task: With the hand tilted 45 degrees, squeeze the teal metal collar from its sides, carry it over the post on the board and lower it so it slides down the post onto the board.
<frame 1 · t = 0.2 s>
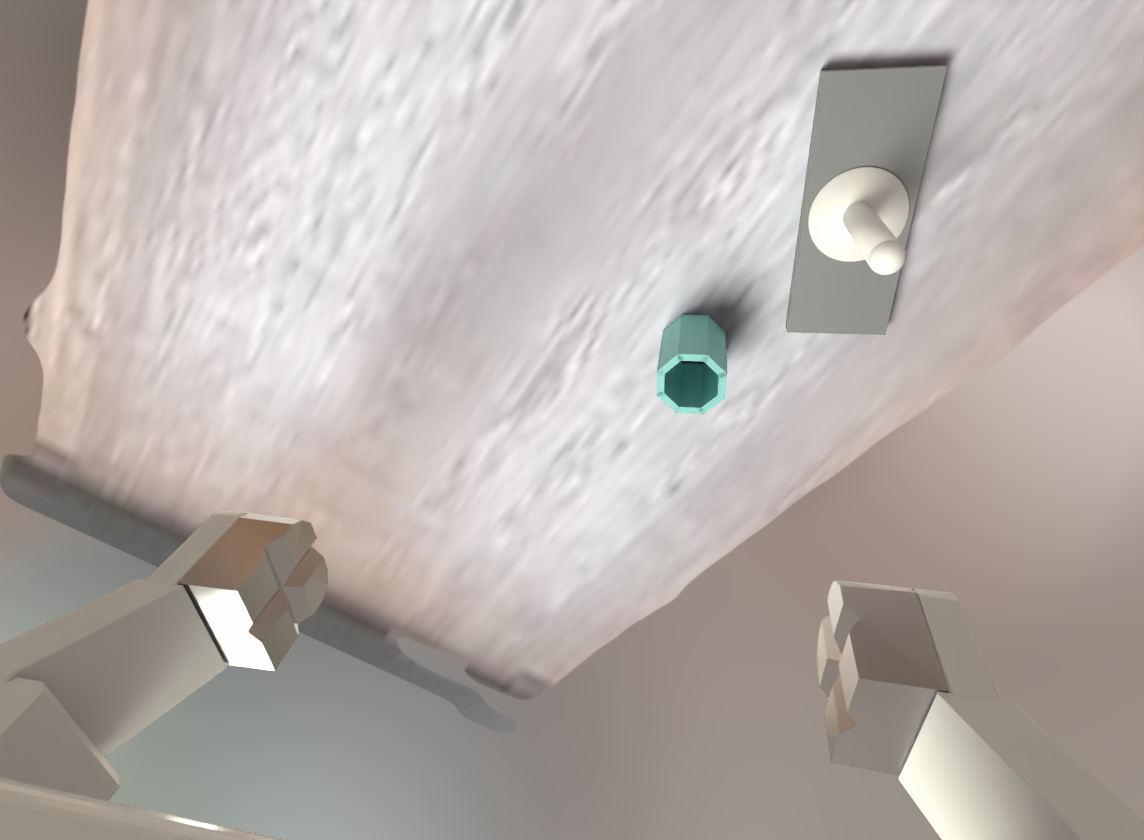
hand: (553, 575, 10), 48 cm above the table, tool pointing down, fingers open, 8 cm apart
post stand: (853, 210, 50), on the table
collar: (693, 342, 59), on the table
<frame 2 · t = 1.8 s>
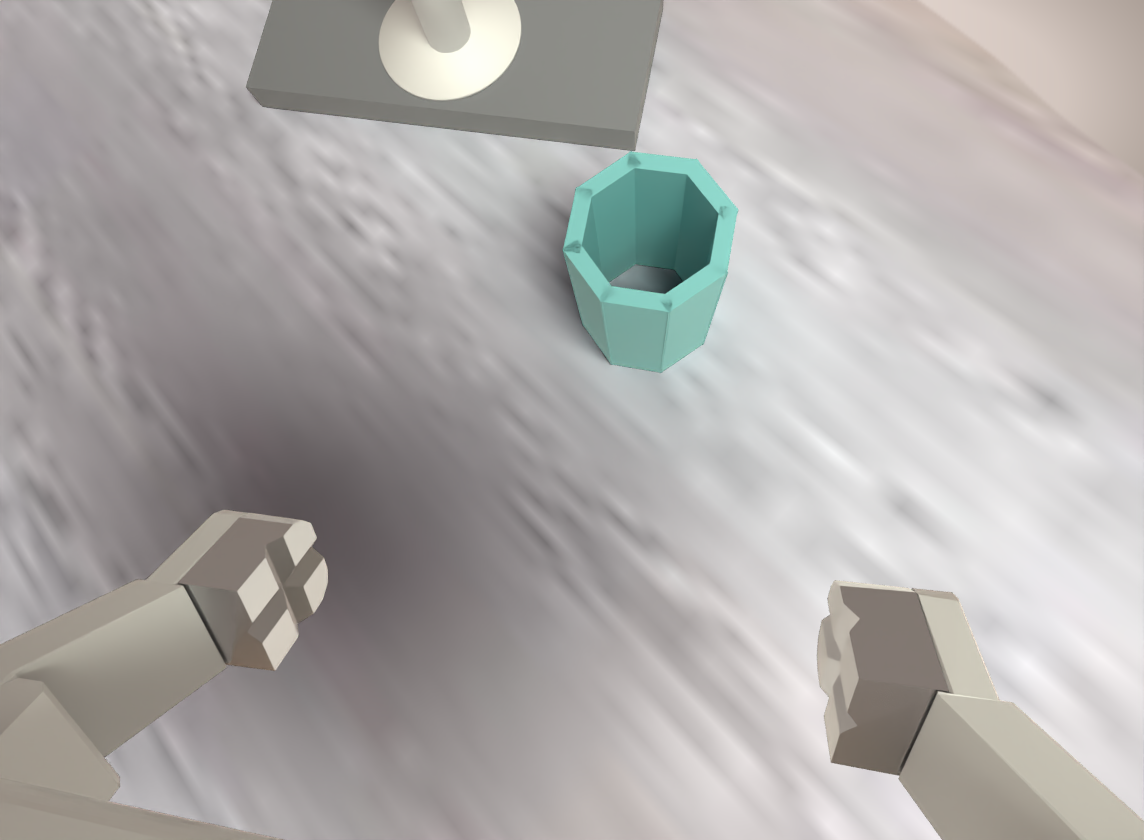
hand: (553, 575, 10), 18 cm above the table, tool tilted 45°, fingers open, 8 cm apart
post stand: (458, 58, 33), on the table
collar: (646, 310, 29), on the table
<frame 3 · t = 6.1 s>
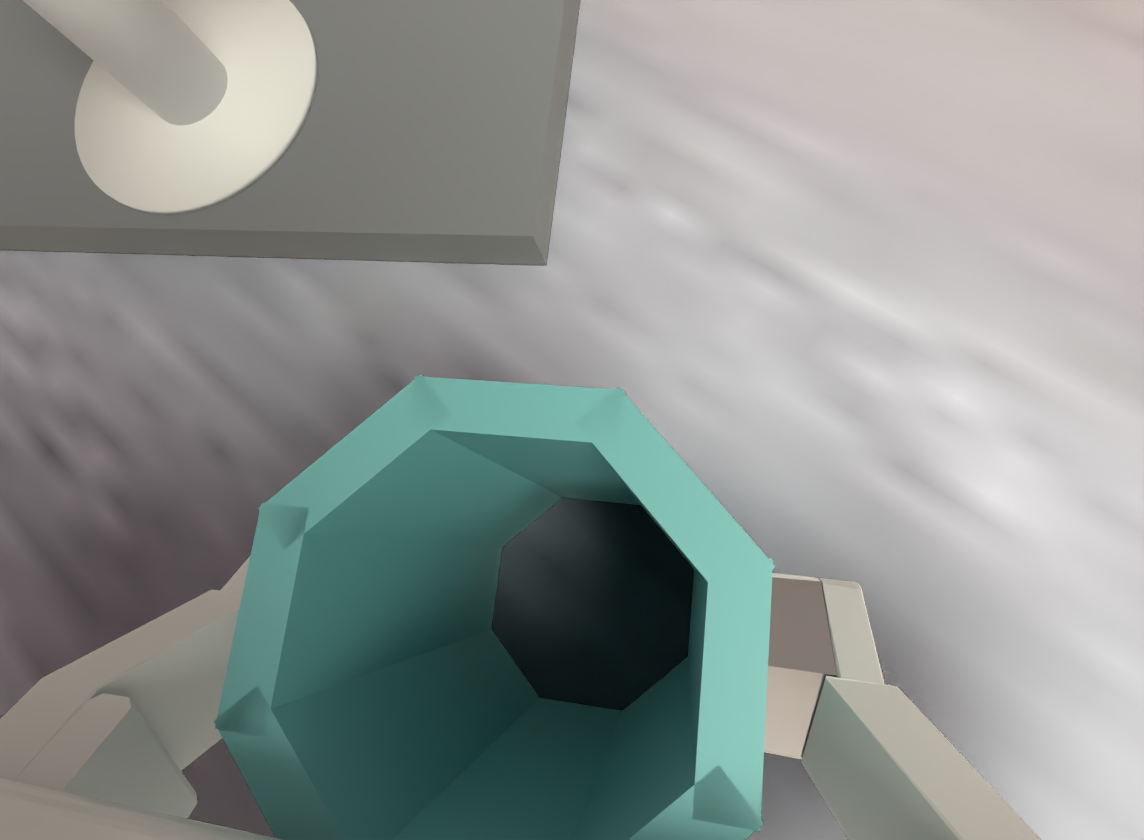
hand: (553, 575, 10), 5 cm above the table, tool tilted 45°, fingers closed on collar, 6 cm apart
post stand: (233, 130, 19), on the table
collar: (591, 599, 14), on the table, touching gripper
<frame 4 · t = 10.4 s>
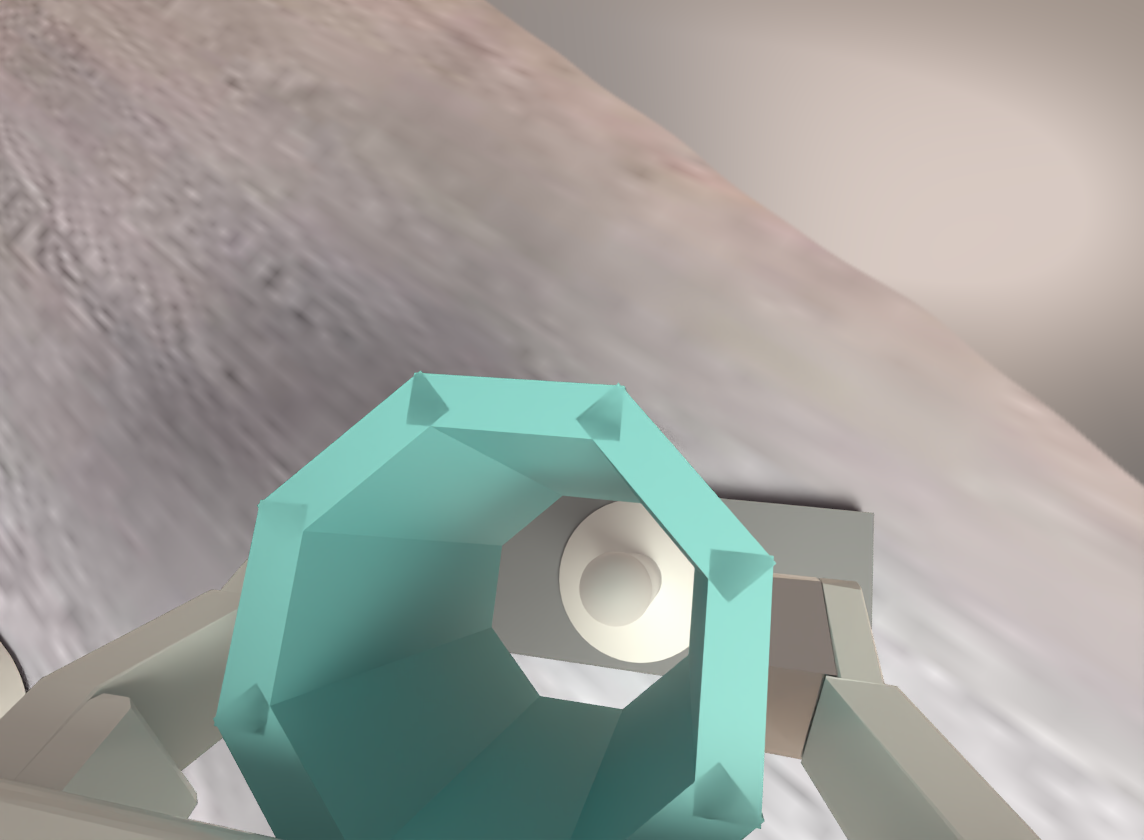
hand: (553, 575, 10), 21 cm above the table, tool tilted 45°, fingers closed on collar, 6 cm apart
post stand: (639, 577, 30), on the table
collar: (591, 597, 14), point 17 cm above the table, touching gripper
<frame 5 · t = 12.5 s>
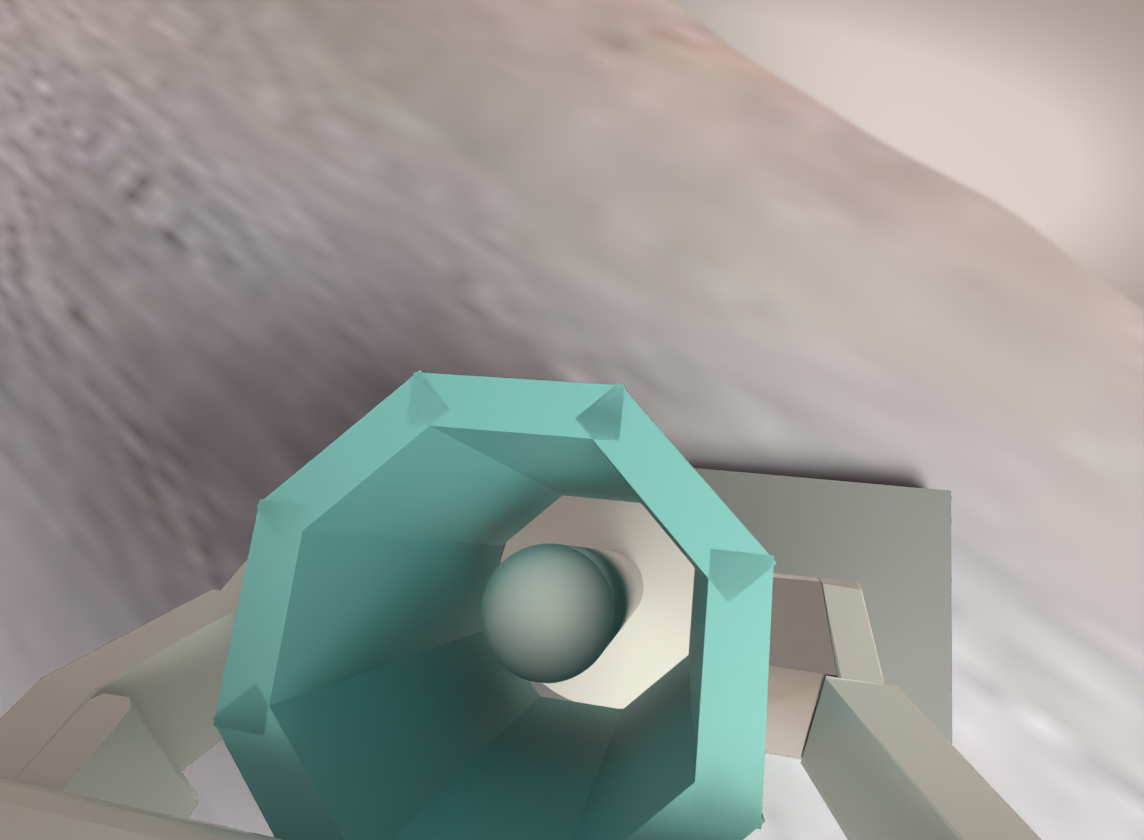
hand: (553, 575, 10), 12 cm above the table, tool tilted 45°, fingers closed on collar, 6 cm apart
post stand: (613, 583, 22), on the table
collar: (591, 597, 14), point 8 cm above the table, touching gripper
when the fingers open (8 cm above the table, at t = 14.5 s): collar drops 2 cm, resting on post stand.
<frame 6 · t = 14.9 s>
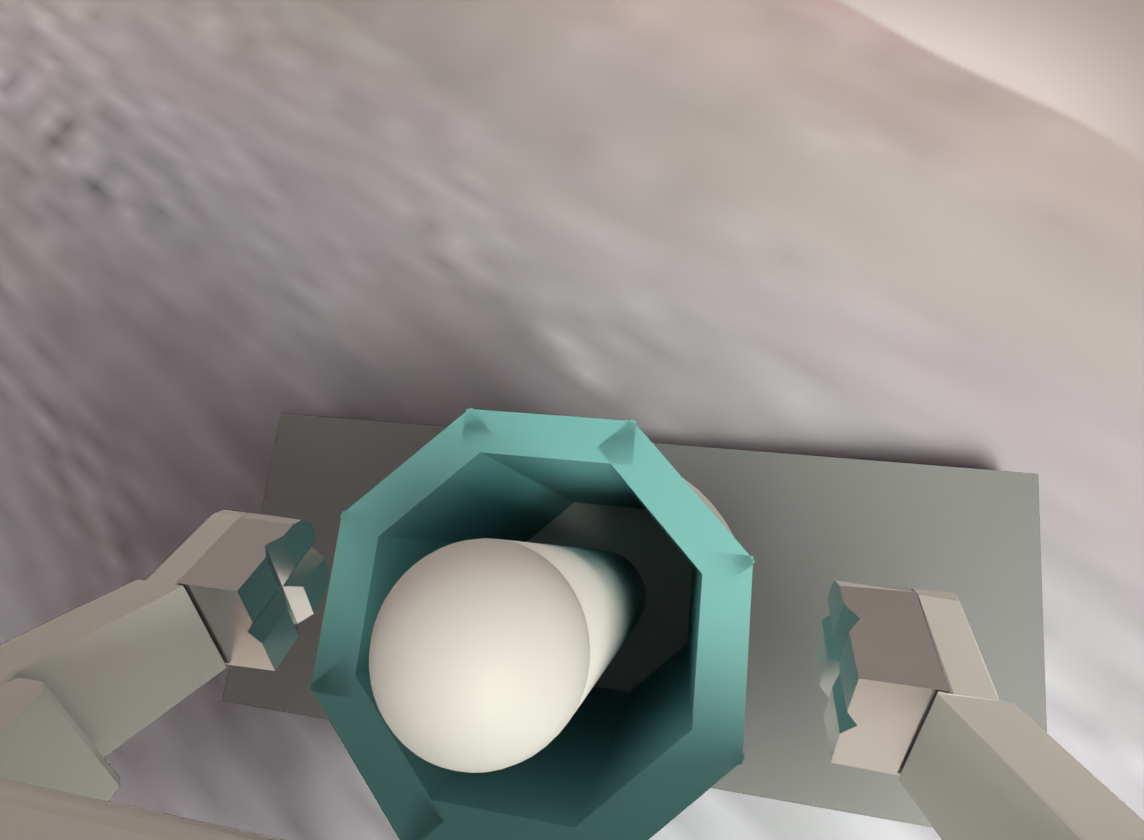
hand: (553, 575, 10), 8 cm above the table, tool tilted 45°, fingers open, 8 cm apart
post stand: (609, 591, 17), on the table
collar: (600, 593, 16), point 2 cm above the table, touching post stand
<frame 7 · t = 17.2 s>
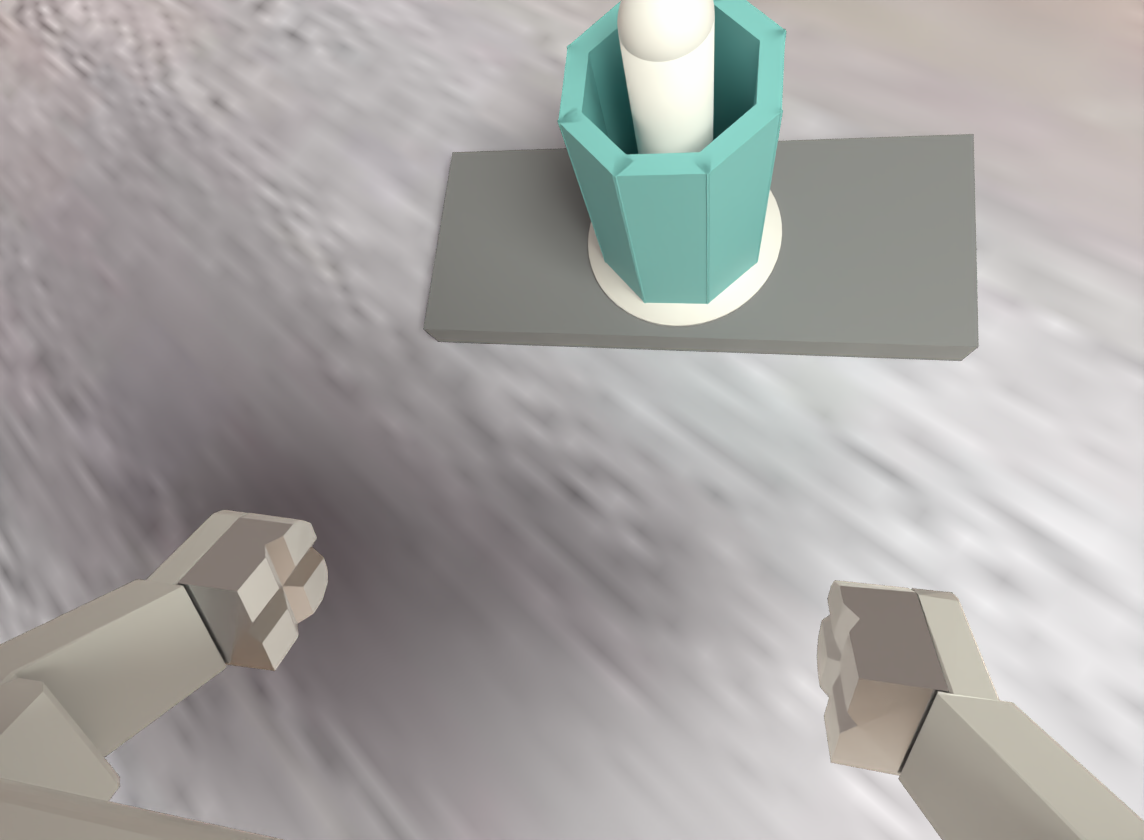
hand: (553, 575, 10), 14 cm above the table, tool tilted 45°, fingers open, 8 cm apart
post stand: (683, 255, 25), on the table
collar: (681, 233, 24), point 2 cm above the table, touching post stand
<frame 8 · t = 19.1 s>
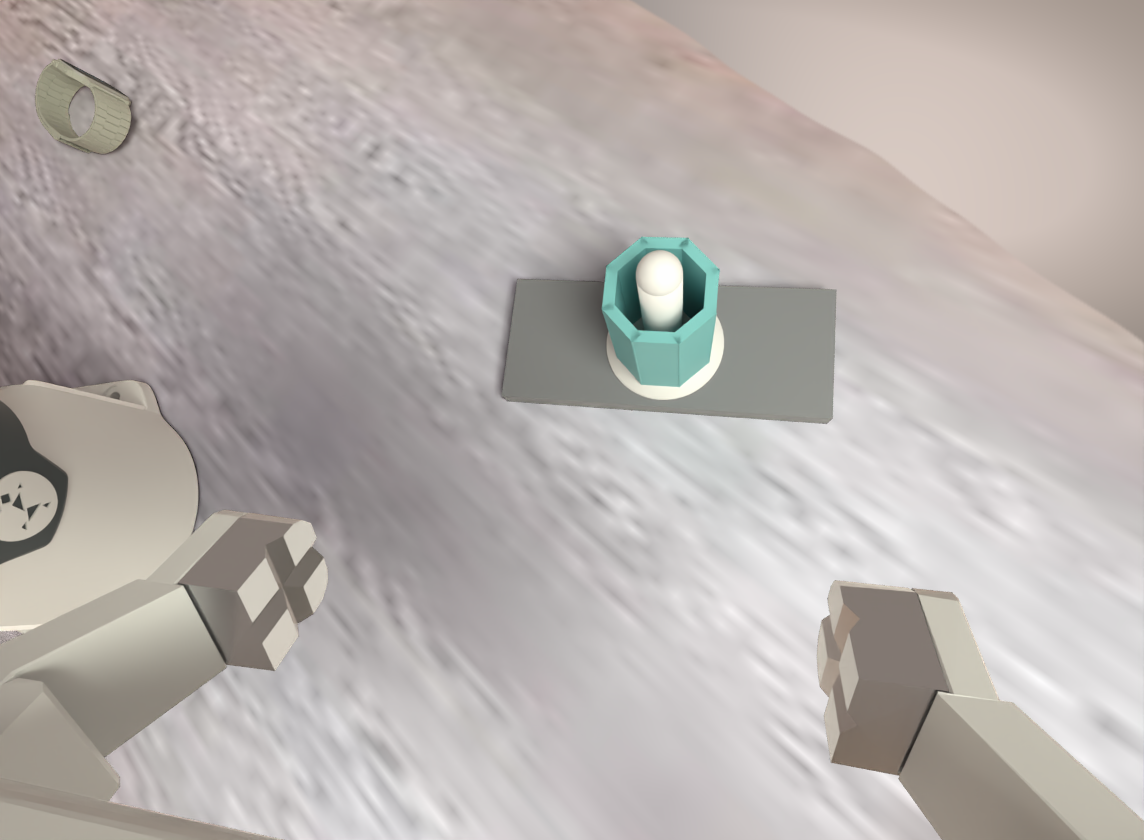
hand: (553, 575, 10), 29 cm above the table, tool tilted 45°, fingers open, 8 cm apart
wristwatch: (103, 126, 53), on the table
post stand: (665, 351, 41), on the table
collar: (664, 342, 39), point 2 cm above the table, touching post stand
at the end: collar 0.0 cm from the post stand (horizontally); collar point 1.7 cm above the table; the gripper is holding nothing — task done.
